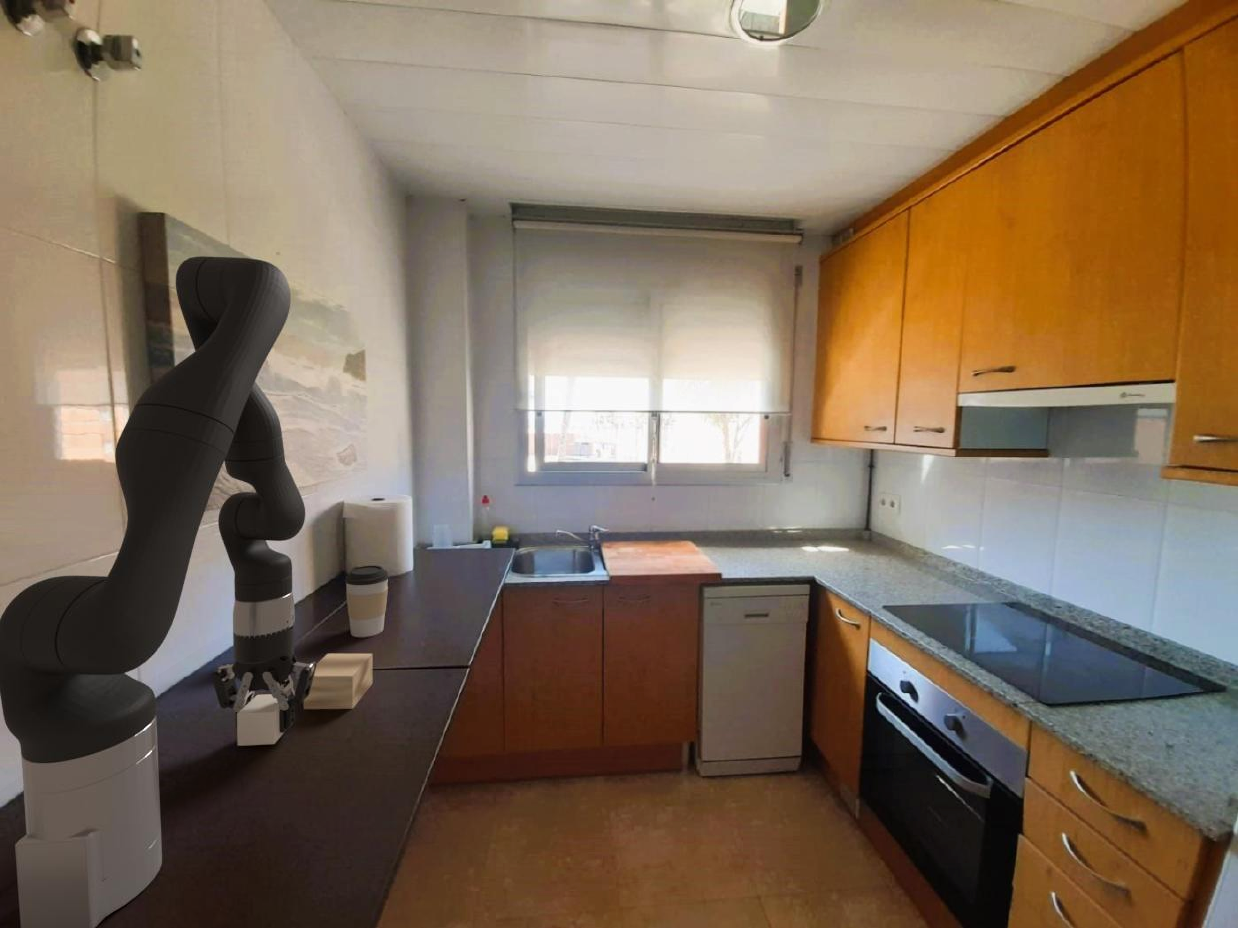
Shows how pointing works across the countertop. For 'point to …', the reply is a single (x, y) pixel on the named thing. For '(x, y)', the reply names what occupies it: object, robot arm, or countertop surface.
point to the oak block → (340, 681)
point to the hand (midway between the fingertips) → (266, 729)
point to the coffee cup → (366, 599)
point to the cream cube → (259, 721)
